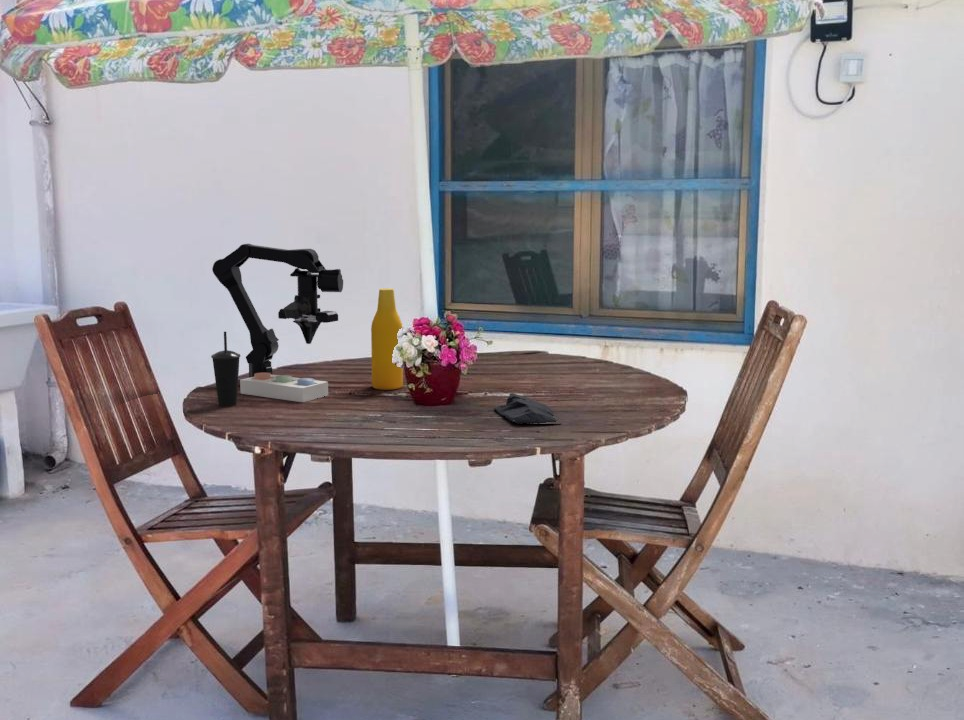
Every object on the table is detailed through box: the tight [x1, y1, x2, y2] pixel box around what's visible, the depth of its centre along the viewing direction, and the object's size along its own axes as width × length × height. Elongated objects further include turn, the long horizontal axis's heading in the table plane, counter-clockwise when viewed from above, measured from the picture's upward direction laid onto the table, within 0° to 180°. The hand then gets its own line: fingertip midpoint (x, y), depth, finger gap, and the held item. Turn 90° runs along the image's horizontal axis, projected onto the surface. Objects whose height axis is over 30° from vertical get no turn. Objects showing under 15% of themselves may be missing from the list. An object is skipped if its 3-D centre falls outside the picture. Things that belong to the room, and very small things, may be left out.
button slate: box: [297, 377, 315, 386], centre depth 300 cm, size 5×5×5 cm
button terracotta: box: [254, 372, 271, 380], centre depth 308 cm, size 5×5×5 cm
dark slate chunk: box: [493, 392, 559, 425], centre depth 279 cm, size 15×22×5 cm
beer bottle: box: [370, 288, 404, 391], centre depth 314 cm, size 9×9×29 cm
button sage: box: [276, 374, 293, 383], centre depth 304 cm, size 5×5×5 cm
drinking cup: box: [210, 331, 241, 407], centre depth 289 cm, size 8×8×20 cm
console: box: [239, 373, 329, 403], centre depth 304 cm, size 23×11×4 cm, turn 59°
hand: (308, 343), depth 320 cm, fingers closed
